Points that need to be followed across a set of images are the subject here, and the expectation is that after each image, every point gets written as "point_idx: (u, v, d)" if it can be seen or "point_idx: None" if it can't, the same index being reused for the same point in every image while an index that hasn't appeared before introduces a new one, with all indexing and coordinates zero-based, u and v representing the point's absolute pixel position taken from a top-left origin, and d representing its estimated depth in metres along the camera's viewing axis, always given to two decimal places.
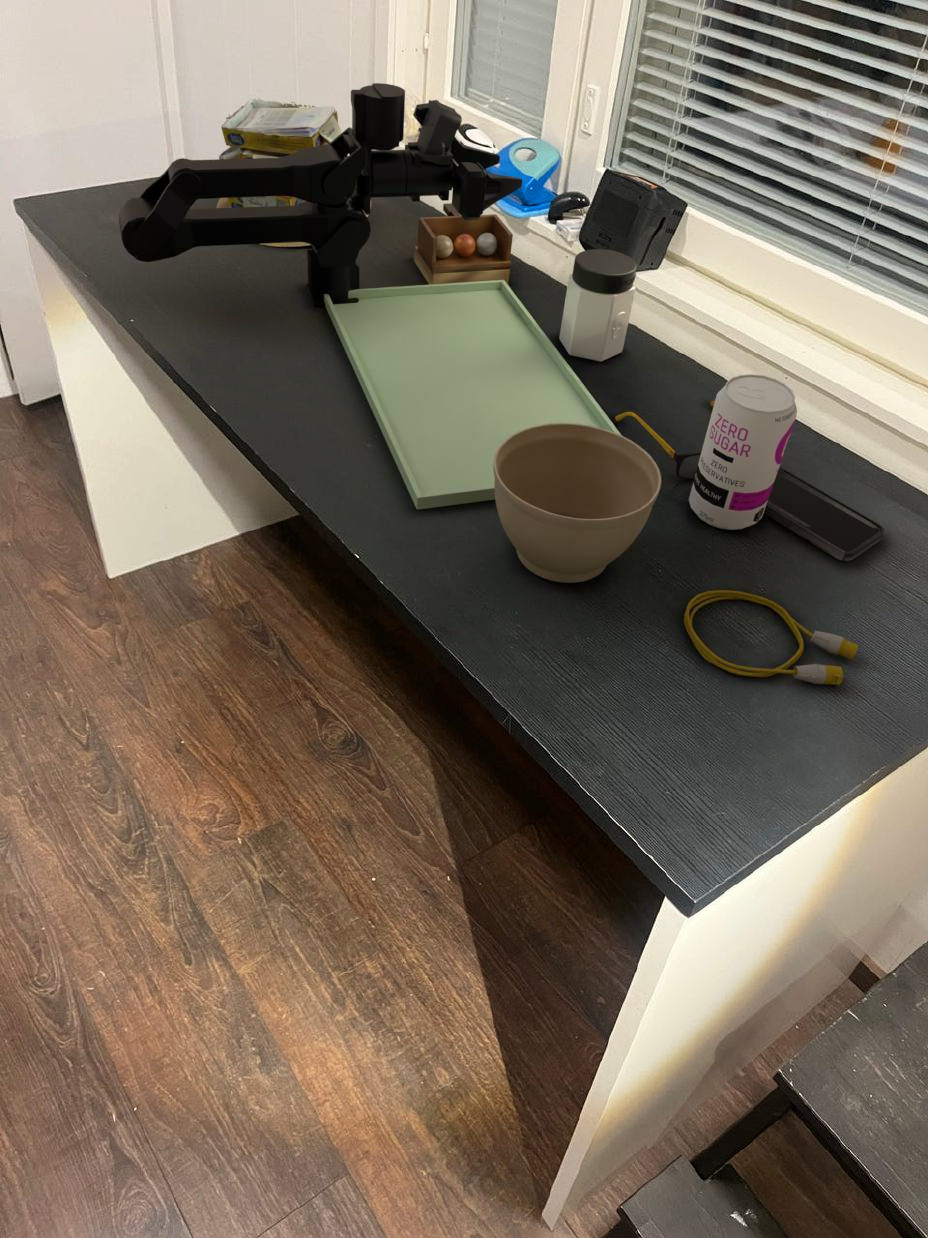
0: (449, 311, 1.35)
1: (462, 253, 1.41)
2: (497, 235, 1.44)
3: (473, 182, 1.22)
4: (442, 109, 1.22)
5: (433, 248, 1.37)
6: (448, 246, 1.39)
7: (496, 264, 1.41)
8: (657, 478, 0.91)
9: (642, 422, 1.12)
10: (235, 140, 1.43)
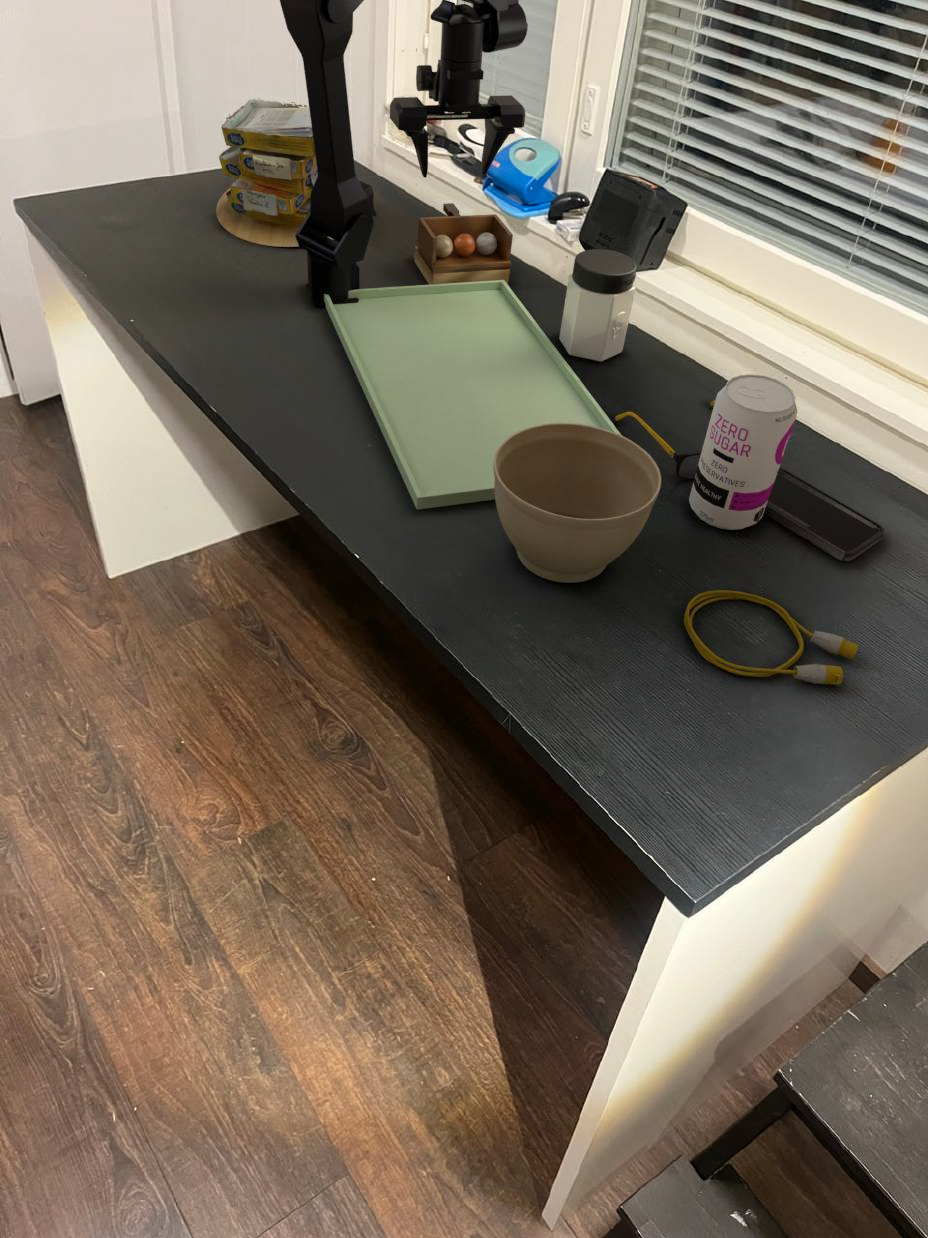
0: (449, 311, 1.35)
1: (462, 252, 1.41)
2: (497, 235, 1.44)
3: None
4: None
5: (433, 248, 1.37)
6: (447, 244, 1.40)
7: (496, 264, 1.41)
8: (657, 478, 0.91)
9: (642, 422, 1.12)
10: (235, 140, 1.43)
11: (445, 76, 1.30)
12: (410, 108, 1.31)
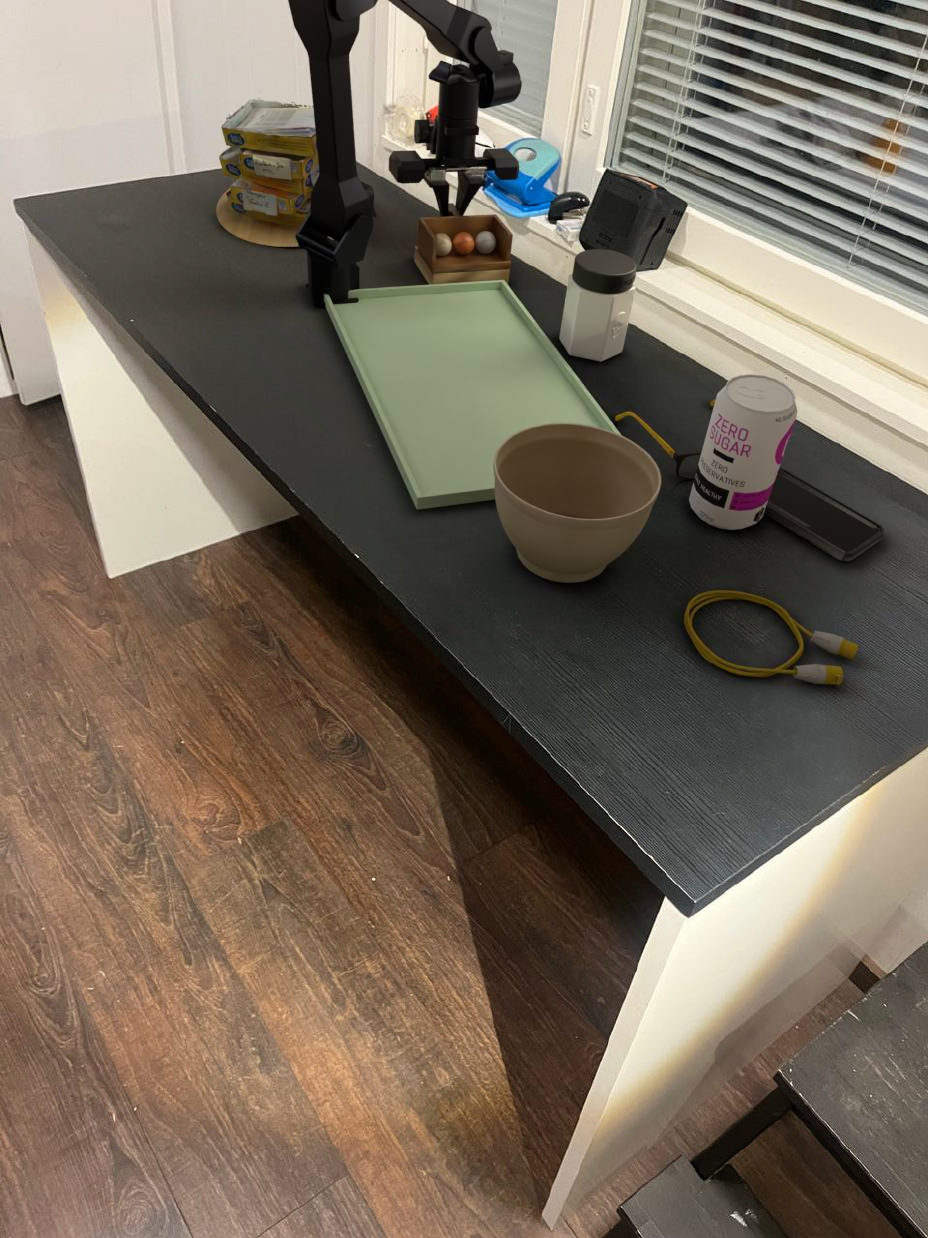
0: (449, 311, 1.35)
1: (461, 248, 1.41)
2: (497, 235, 1.44)
3: None
4: None
5: (433, 248, 1.37)
6: (446, 239, 1.40)
7: (496, 264, 1.41)
8: (657, 478, 0.91)
9: (642, 422, 1.12)
10: (235, 140, 1.43)
11: (442, 132, 1.36)
12: (408, 162, 1.36)
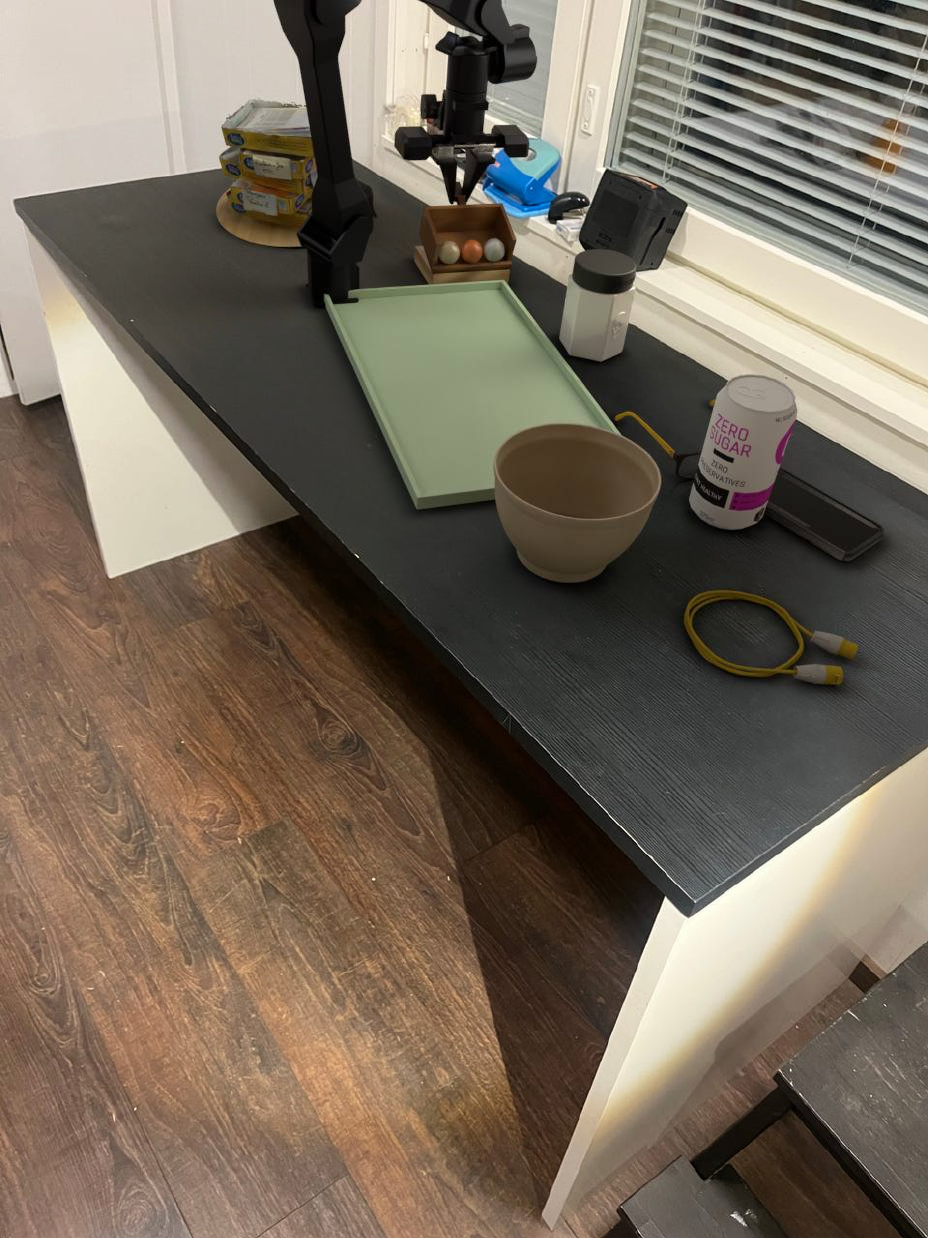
0: (449, 311, 1.35)
1: None
2: (500, 227, 1.42)
3: None
4: None
5: (435, 252, 1.36)
6: None
7: (497, 265, 1.41)
8: (657, 478, 0.91)
9: (642, 422, 1.12)
10: (235, 140, 1.43)
11: (450, 107, 1.31)
12: (415, 138, 1.31)
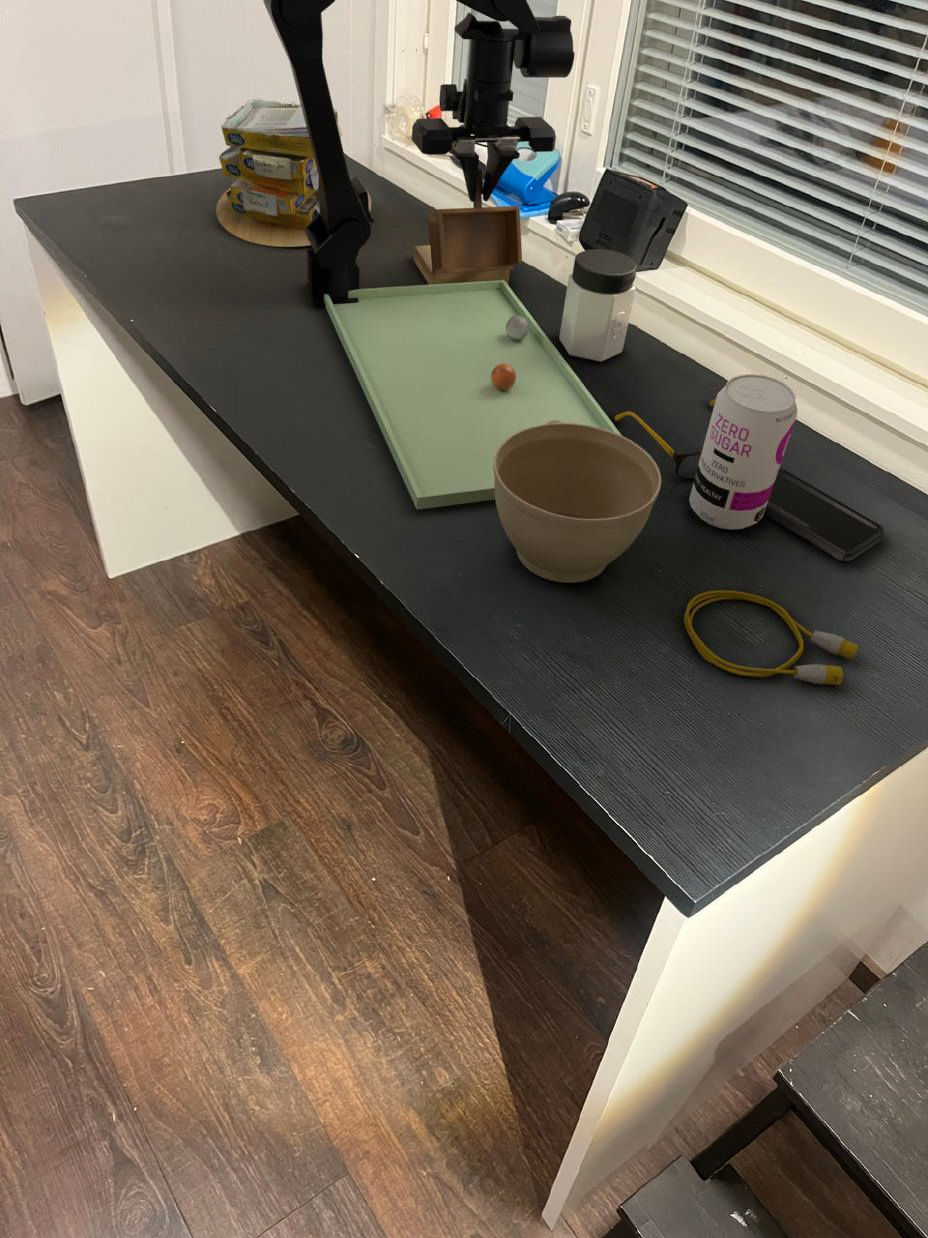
0: (449, 311, 1.35)
1: None
2: (511, 228, 1.38)
3: None
4: None
5: (439, 267, 1.35)
6: None
7: (497, 269, 1.41)
8: (657, 478, 0.91)
9: (641, 422, 1.12)
10: (236, 140, 1.43)
11: (472, 97, 1.22)
12: (435, 131, 1.23)
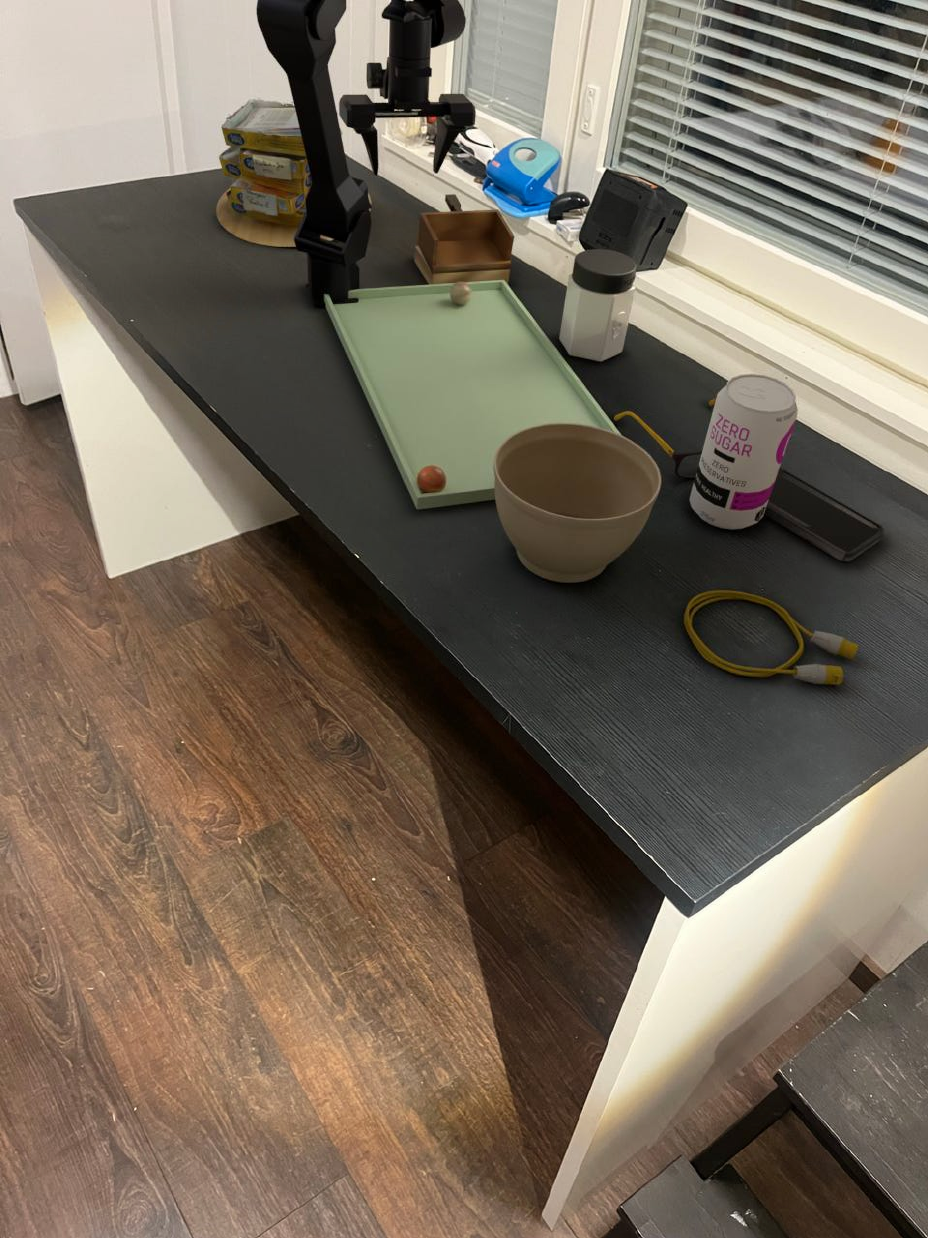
0: (449, 311, 1.35)
1: (424, 488, 1.02)
2: (498, 231, 1.43)
3: None
4: None
5: (434, 249, 1.36)
6: (467, 291, 1.35)
7: (496, 264, 1.41)
8: (657, 478, 0.91)
9: (641, 421, 1.12)
10: (236, 140, 1.43)
11: (393, 73, 1.30)
12: (358, 105, 1.30)
